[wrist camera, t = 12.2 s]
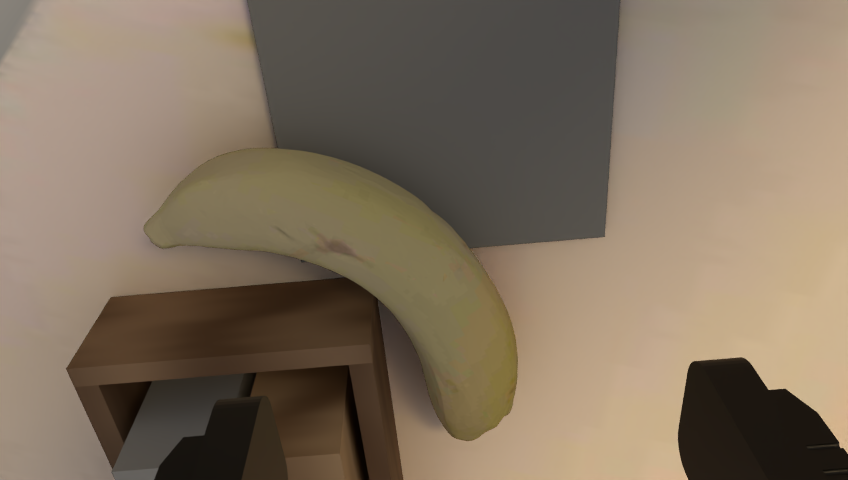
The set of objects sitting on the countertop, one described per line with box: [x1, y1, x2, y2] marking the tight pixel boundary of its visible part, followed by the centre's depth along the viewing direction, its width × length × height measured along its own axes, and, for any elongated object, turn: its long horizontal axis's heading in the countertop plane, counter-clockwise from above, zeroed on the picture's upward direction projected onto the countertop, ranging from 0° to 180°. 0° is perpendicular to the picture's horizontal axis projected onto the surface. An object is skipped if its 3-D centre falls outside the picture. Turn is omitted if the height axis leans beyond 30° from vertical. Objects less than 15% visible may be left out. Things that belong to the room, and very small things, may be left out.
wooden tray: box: [66, 278, 403, 480], centre depth 28 cm, size 10×15×4 cm
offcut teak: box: [250, 365, 369, 480], centre depth 27 cm, size 4×9×6 cm, turn 5°
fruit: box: [144, 148, 518, 441], centre depth 24 cm, size 7×15×3 cm, turn 45°
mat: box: [247, 0, 620, 262], centre depth 22 cm, size 11×10×1 cm
